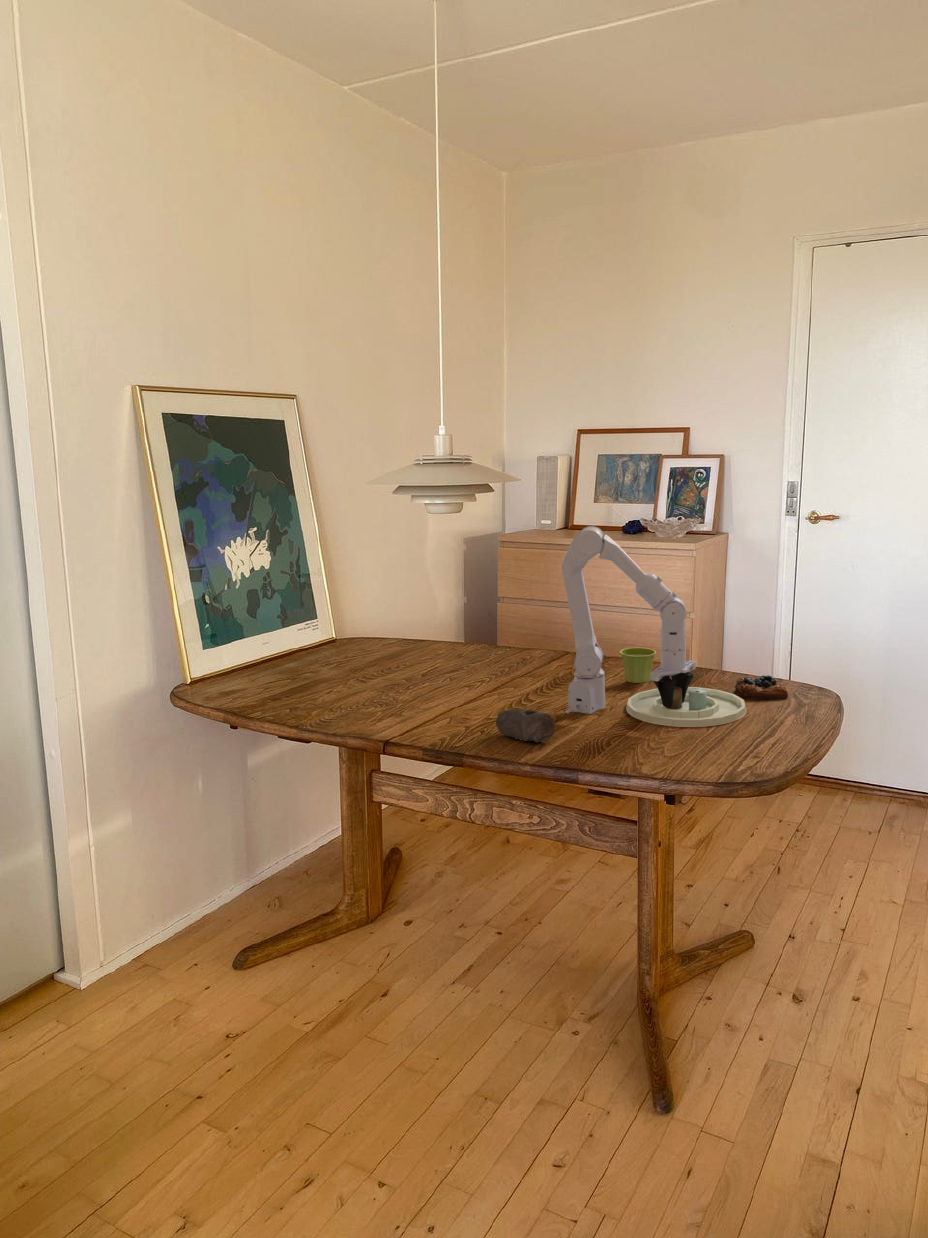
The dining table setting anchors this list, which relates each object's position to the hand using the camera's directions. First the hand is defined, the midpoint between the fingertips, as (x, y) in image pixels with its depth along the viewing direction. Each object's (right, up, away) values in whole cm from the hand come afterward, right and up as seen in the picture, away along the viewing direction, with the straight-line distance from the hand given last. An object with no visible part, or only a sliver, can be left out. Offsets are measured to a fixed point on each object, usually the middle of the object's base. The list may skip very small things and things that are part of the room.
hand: (673, 704), depth 222 cm
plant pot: (-4, +3, +26) cm, 26 cm away
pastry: (+23, 0, +8) cm, 24 cm away
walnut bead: (0, -1, 0) cm, 1 cm away
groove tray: (+3, -2, -1) cm, 3 cm away
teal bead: (+5, -1, -3) cm, 6 cm away
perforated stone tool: (-37, -7, -15) cm, 40 cm away
